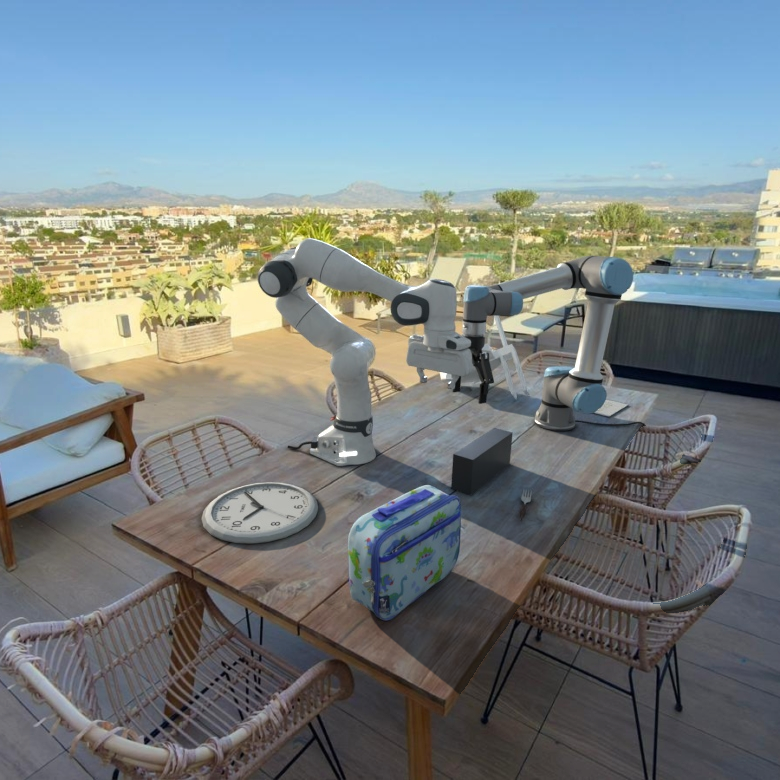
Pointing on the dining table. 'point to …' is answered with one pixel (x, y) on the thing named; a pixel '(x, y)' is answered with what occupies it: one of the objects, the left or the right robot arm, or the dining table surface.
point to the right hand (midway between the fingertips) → (468, 397)
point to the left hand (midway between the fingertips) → (436, 385)
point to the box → (481, 460)
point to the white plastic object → (496, 363)
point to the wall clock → (259, 513)
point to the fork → (525, 500)
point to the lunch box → (403, 549)
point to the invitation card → (610, 408)
